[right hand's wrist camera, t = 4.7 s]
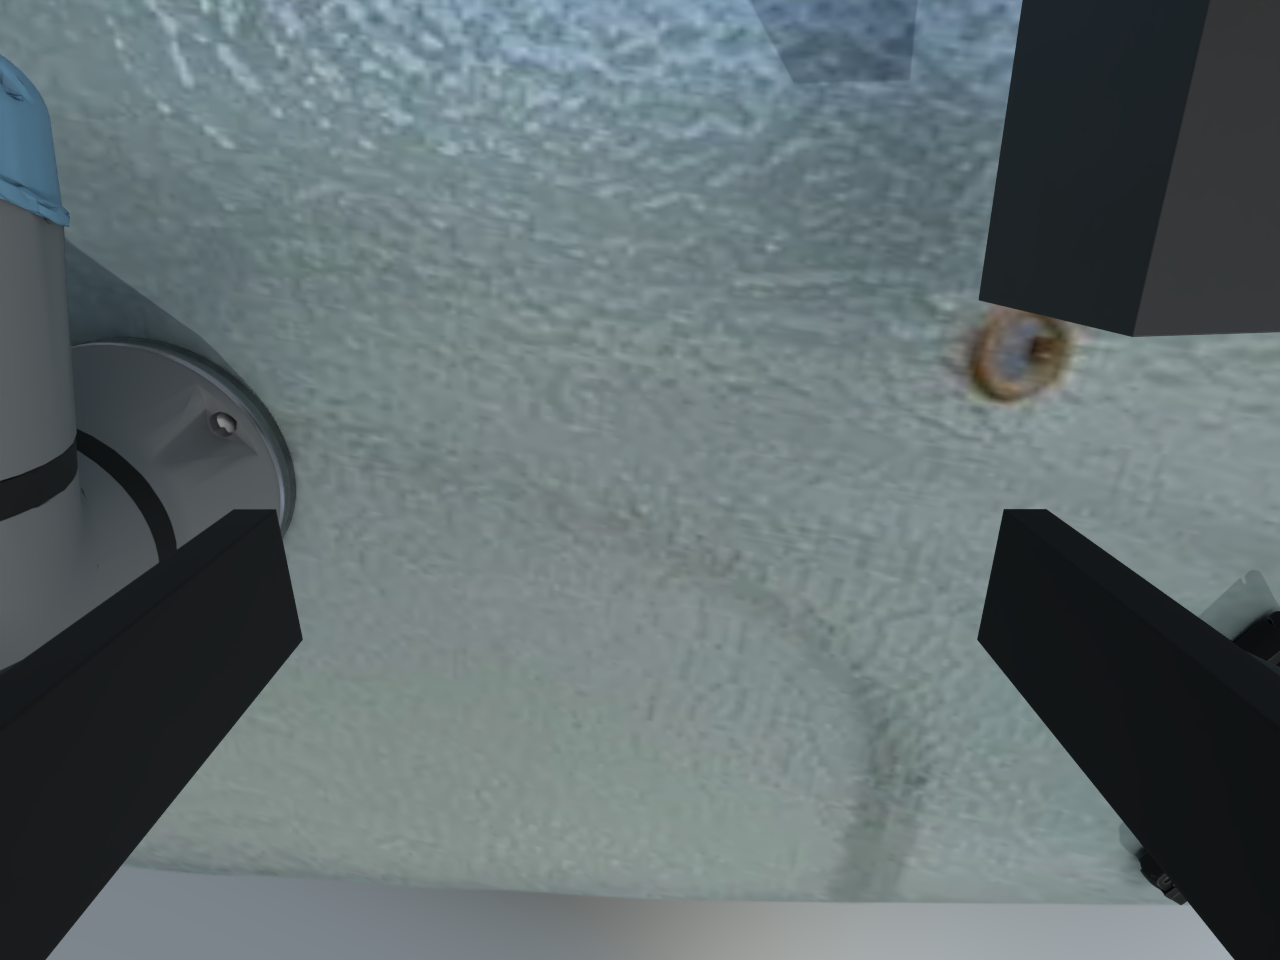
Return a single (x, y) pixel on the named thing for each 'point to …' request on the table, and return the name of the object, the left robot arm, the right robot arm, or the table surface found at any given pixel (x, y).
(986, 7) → the table surface
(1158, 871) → the handgun
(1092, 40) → the box
